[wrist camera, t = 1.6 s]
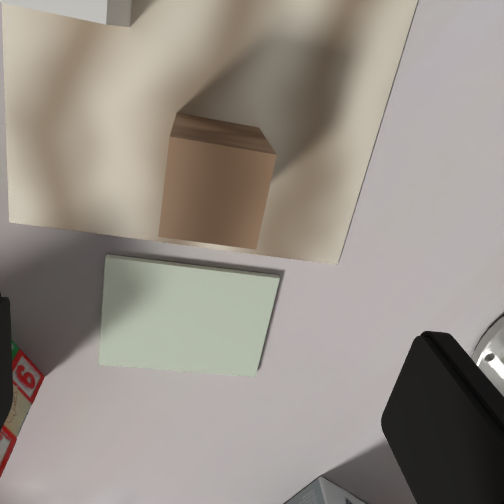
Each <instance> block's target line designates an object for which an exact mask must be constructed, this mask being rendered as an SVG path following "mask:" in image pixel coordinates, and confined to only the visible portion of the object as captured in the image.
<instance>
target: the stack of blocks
mask: <svg viewBox="0 0 504 504" xmlns="http://www.w3.org/2000/svg"><path fill="white" fill-rule="evenodd" d="M11 345H12V370H13V402H12V407H11V410H10V412H9V415H8V417H7V419H6V421H5V423H4V425H3V427H2V429H1V431H0V477H1V475H2V473H3V470H4V469H5V466H6V464H7V462H8V459H9V457H10V455H11V453H12V451H13V448H14V446H15V443H16V441H17V436H18V435H19V432H20V430H21V427H22V425H23V423H24V420H25V418H26V416H27V414H28V412H29V409H30V407H31V405H32V404H33V402H34V400H35V397H36V395H37V393H38V390H39V388H40V386H41V384H42V382H43V380H44V375H43V374H42V373H41V372H40V371H39V370H38V369H37V367H36V366H35V365H34V364H33V363H32V362H31V361H30V360H29V358H28V357H27V356H26V355H25V354H24V353H23V352H22V350H20V349H19V348H18V347H17V346H16V345H15V343H14V342H13V341H12V340H11Z"/></svg>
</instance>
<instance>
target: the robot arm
mask: <svg viewBox="0 0 504 504" xmlns="http://www.w3.org/2000/svg"><path fill="white" fill-rule="evenodd" d="M12 402H13V370H12V345H11V320H10V301H9V298H8V297H1V293H0V431H1V429H2V427H3V425H4V423H5V421H6V419H7V417H8V415H9V412H10V410H11V407H12ZM381 426H382V430H383V433H384V435H385V437H386V439H387V441H388V443H389V445H390V447H391V449H392V452H393V454H394V456H395V458H396V460H397V462H398V464H399V466H400V468H401V471H402V473H403V475H404V477H405V479H406V481H407V483H408V485H409V487H410V489H411V492H412V494H413V496H414V498H415V500H416V502H417V504H504V316H503V317H502V318H500V319H499V320H498V321H497V322H496V323H495V324H494V325H493V326H492V327H491V328H490V329H489V330H488V331H487V332H486V334H485V335H484V336H483V337H482V339H481V340H480V342H479V343H478V345H477V347H476V349H475V351H474V353H473V356H472V359H471V358H470V356H469V355H468V354H467V353H466V352H465V351H464V349H463V348H462V347H461V346H460V345H459V344H458V342H457V341H456V340H455V339H454V338H453V336H451V335H450V334H449V333H443V332H433V331H425V332H423V333H422V334H421V335H420V336H417V337H416V338H415V339H414V341H413V343H412V345H411V348H410V350H409V353H408V355H407V357H406V360H405V362H404V365H403V367H402V369H401V372H400V374H399V376H398V379H397V381H396V384H395V386H394V388H393V391H392V393H391V395H390V398H389V400H388V403H387V405H386V407H385V410H384V412H383V414H382V418H381Z"/></svg>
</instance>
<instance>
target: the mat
mask: <svg viewBox="0 0 504 504" xmlns="http://www.w3.org/2000/svg"><path fill="white" fill-rule="evenodd" d="M279 280H280V277H279V275H274V274H265V273H257V272H249V271H241V270H233V269H224V268H216V267H208V266H200V265H192V264H184V263H175V262H167V261H159V260H151V259H143V258H134V257H126V256H118V255H110V254H106V257H105V269H104V285H103V301H102V317H101V333H100V349H99V365H110V366H123V367H135V368H148V369H160V370H173V371H186V372H198V373H211V374H223V375H236V376H248V377H256V373H257V369H258V365H259V361H260V357H261V353H262V349H263V345H264V340H265V336H266V332H267V328H268V324H269V320H270V316H271V312H272V308H273V304H274V300H275V296H276V292H277V288H278V284H279Z"/></svg>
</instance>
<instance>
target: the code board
mask: <svg viewBox="0 0 504 504" xmlns="http://www.w3.org/2000/svg"><path fill="white" fill-rule="evenodd" d="M417 1H418V0H132V8H131V22H130V27H123V26H114V25H106V24H101V23H96V22H91V21H87V20H82V19H77V18H72V17H68V16H63V15H58V14H53V13H48V12H44V11H39V10H34V9H29V8H25V7H20V6H15V5H10V4H5V3H2V27H3V56H4V85H5V113H6V142H7V171H8V199H9V222H10V223H18V224H26V225H33V226H41V227H49V228H57V229H64V230H72V231H80V232H87V233H95V234H103V235H111V236H118V237H126V238H134V239H142V240H149V241H157V242H165V243H173V244H180V245H188V246H196V247H203V248H211V249H219V250H227V251H234V252H242V253H250V254H258V255H265V256H273V257H281V258H289V259H296V260H304V261H312V262H319V263H327V264H335V265H338V261H339V258H340V255H341V251H342V248H343V245H344V242H345V238H346V235H347V232H348V228H349V225H350V222H351V219H352V215H353V212H354V209H355V205H356V202H357V199H358V196H359V192H360V189H361V186H362V182H363V179H364V176H365V173H366V169H367V166H368V163H369V159H370V156H371V153H372V149H373V146H374V143H375V140H376V136H377V133H378V130H379V126H380V123H381V120H382V117H383V113H384V110H385V107H386V103H387V100H388V97H389V94H390V90H391V87H392V84H393V80H394V77H395V74H396V71H397V67H398V64H399V61H400V57H401V54H402V51H403V48H404V44H405V41H406V38H407V34H408V31H409V28H410V25H411V21H412V18H413V15H414V11H415V8H416V5H417ZM176 113H182V114H187V115H193V116H198V117H204V118H210V119H215V120H221V121H226V122H232V123H237V124H243V125H248V126H254V127H259V128H260V130H261V131H262V133H263V134H264V136H265V137H266V139H267V140H268V142H269V144H270V145H271V147H272V148H273V150H274V151H275V153H276V154H277V156H276V161H275V165H274V170H273V174H272V179H271V184H270V188H269V193H268V198H267V202H266V207H265V211H264V216H263V221H262V225H261V230H260V234H259V239H258V244H257V248H256V250H254V249H247V248H239V247H231V246H224V245H216V244H209V243H201V242H193V241H186V240H178V239H170V238H163V237H158V234H159V225H160V216H161V208H162V199H163V190H164V181H165V173H166V164H167V155H168V147H169V138H170V134H171V130H172V127H173V123H174V120H175V117H176Z"/></svg>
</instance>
